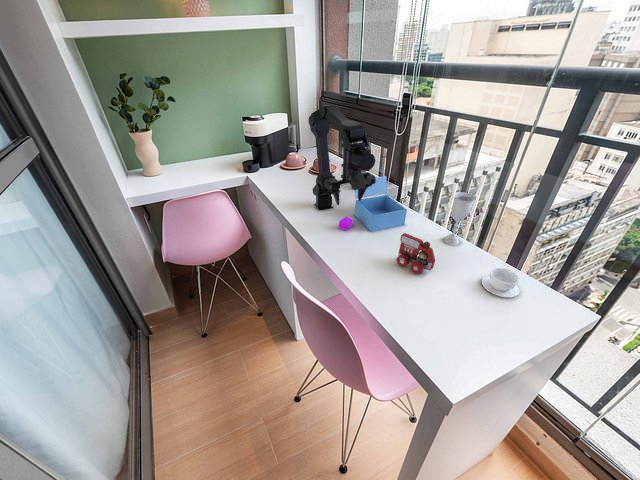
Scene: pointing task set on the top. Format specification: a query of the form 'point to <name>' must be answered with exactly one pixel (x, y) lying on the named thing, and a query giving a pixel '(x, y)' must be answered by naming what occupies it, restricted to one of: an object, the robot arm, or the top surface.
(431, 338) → the top surface
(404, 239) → the toy fire truck
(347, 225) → the crystal
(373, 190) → the flap
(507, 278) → the teacup
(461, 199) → the chalice
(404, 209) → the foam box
